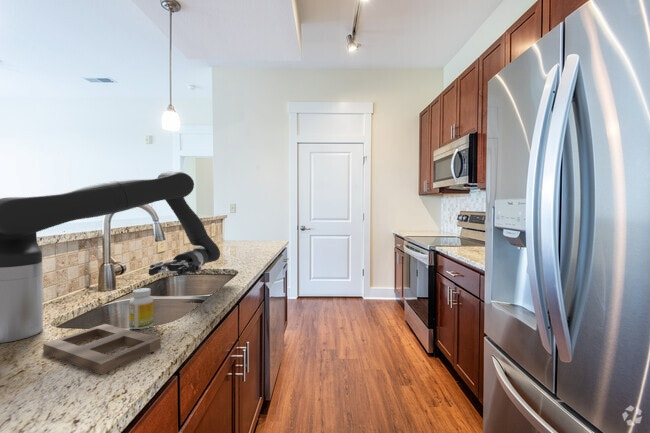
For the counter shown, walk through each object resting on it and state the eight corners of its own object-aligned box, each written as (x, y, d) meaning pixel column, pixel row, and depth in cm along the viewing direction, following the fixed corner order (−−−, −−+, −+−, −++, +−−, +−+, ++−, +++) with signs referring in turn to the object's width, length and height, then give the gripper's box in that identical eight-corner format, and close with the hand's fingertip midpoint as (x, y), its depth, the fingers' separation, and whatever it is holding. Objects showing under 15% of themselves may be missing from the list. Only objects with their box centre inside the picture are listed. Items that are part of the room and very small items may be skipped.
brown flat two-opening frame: (43, 353, 62) (43, 343, 62) (105, 331, 73) (104, 323, 73) (101, 374, 54) (101, 364, 54) (160, 347, 65) (160, 338, 65)
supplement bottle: (124, 330, 74) (124, 293, 73) (136, 322, 79) (136, 287, 79) (147, 330, 74) (147, 292, 74) (157, 322, 80) (157, 287, 79)
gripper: (168, 251, 104) (140, 260, 87) (208, 251, 104) (188, 259, 88) (168, 272, 104) (141, 284, 88) (209, 272, 104) (189, 284, 88)
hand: (164, 272), depth 88 cm, fingers open, 8 cm apart
